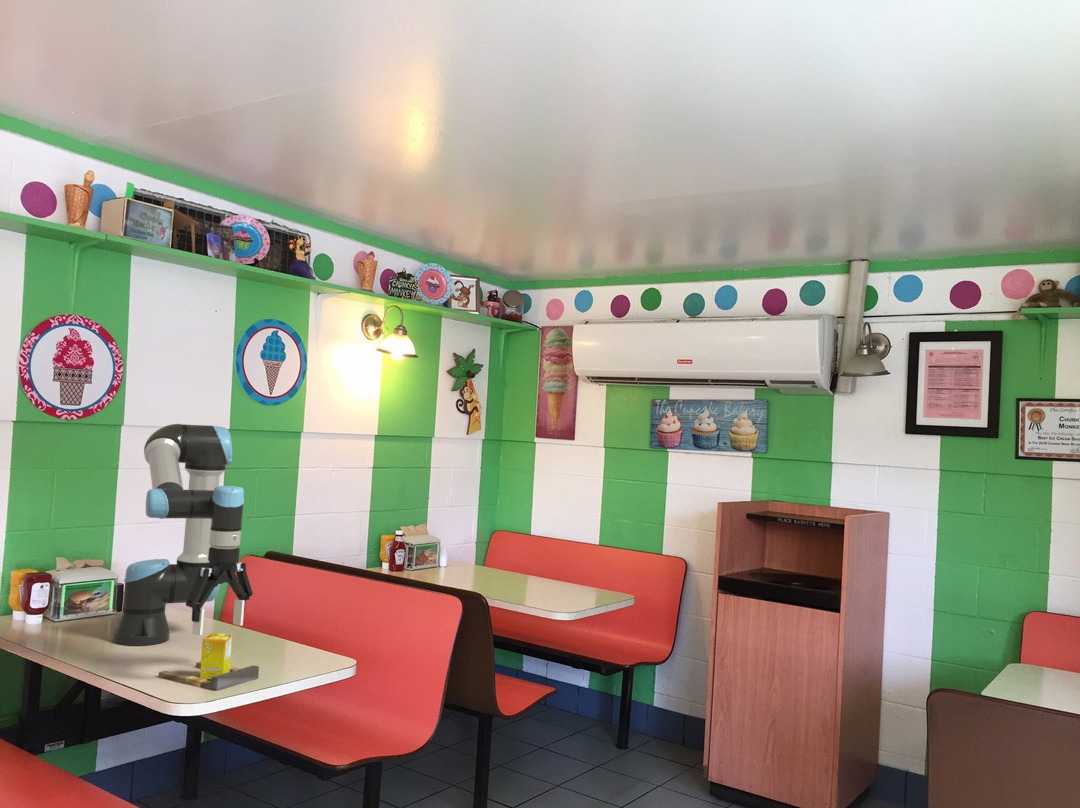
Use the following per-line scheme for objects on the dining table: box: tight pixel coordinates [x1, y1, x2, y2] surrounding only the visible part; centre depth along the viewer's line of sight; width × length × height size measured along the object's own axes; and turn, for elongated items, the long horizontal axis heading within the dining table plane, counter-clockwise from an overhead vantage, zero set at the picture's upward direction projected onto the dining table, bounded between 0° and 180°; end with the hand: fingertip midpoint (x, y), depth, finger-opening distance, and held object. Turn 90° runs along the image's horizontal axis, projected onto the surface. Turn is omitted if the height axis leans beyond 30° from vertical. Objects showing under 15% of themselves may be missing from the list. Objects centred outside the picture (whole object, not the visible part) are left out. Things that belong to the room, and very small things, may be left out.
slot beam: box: [158, 661, 260, 692], centre depth 219 cm, size 20×14×3 cm
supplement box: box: [199, 632, 233, 681], centre depth 218 cm, size 6×6×11 cm
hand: (218, 629), depth 219 cm, fingers open, 13 cm apart
